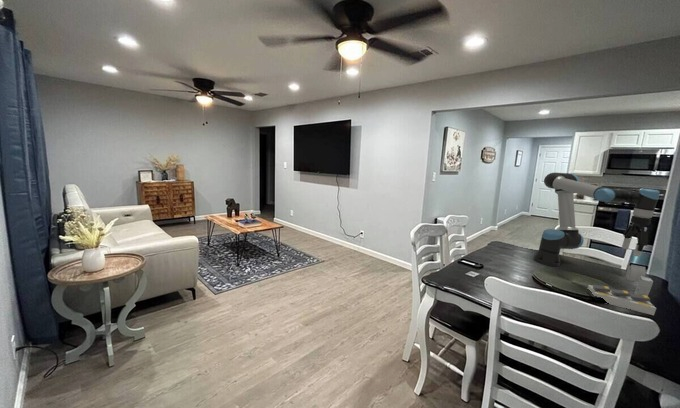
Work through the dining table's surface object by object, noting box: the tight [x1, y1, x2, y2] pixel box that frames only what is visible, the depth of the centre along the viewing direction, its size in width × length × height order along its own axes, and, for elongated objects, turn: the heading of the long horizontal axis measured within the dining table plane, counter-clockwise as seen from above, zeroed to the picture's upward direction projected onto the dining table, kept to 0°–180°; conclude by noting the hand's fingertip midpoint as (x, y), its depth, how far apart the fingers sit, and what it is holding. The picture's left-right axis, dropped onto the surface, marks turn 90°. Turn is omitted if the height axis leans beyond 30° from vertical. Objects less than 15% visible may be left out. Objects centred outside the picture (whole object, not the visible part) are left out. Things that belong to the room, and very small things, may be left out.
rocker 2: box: [610, 288, 631, 297], centre depth 142 cm, size 6×4×2 cm, turn 61°
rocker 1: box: [592, 284, 611, 292], centre depth 146 cm, size 6×4×2 cm, turn 61°
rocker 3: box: [629, 293, 651, 303], centre depth 139 cm, size 6×4×2 cm, turn 61°
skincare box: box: [633, 276, 654, 297], centre depth 148 cm, size 6×4×12 cm
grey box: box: [624, 264, 646, 283], centre depth 172 cm, size 4×7×10 cm, turn 67°
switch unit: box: [587, 284, 657, 316], centre depth 143 cm, size 23×11×4 cm, turn 61°
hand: (630, 252), depth 156 cm, fingers open, 13 cm apart
